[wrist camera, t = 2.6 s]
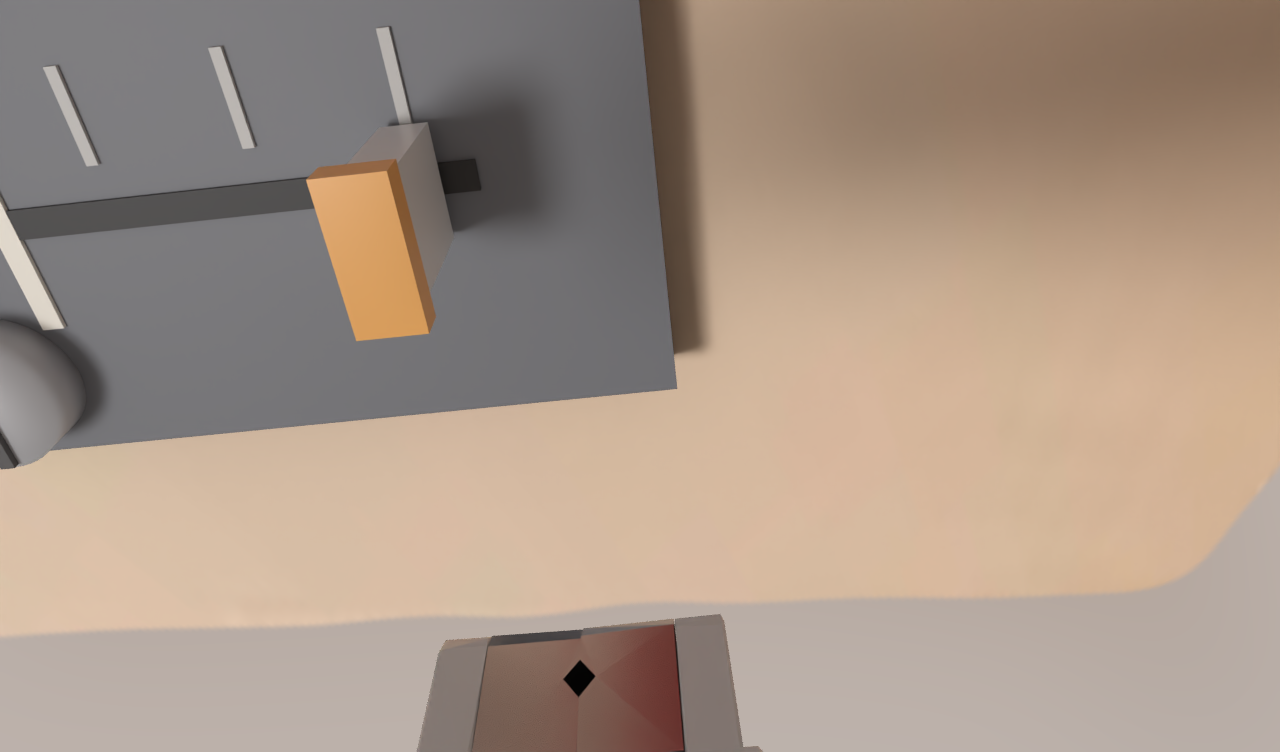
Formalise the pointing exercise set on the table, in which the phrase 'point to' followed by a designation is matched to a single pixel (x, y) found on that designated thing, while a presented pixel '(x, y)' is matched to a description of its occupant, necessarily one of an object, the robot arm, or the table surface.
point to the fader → (386, 230)
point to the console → (314, 212)
